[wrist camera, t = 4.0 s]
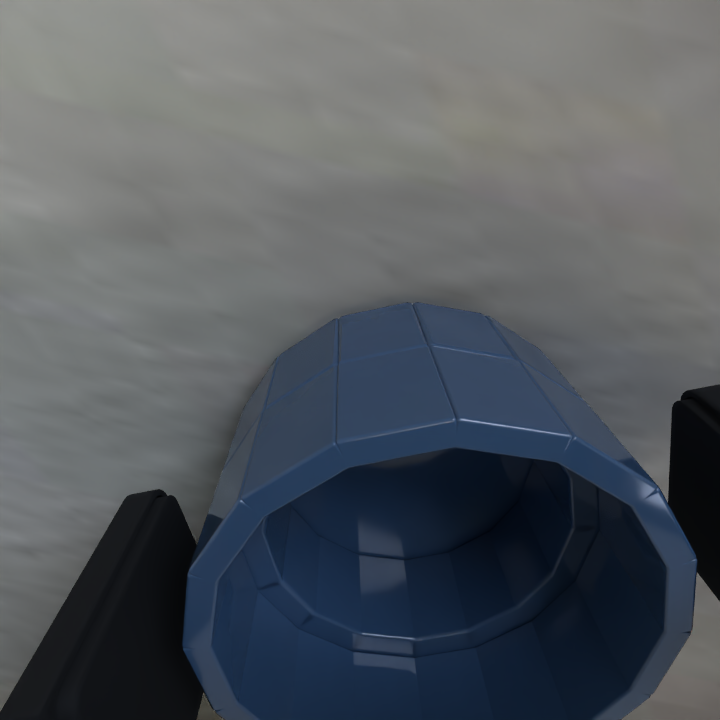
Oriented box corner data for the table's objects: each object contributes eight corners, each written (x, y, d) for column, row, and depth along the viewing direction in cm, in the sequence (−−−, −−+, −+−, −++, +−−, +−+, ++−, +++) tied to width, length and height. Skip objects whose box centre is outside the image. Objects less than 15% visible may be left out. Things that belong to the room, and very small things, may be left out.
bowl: (290, 589, 13) (265, 814, 9) (198, 335, 10) (97, 487, 6) (570, 539, 13) (684, 750, 8) (554, 260, 10) (714, 368, 6)
